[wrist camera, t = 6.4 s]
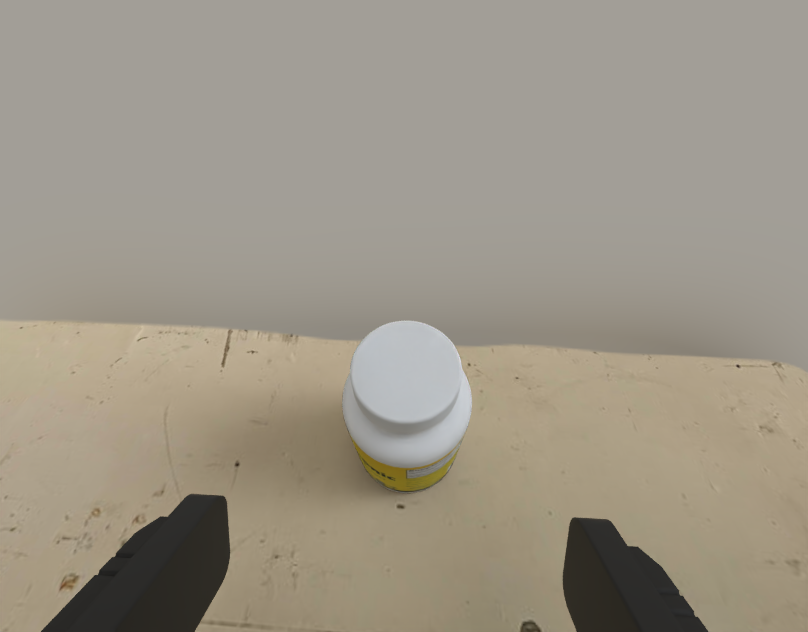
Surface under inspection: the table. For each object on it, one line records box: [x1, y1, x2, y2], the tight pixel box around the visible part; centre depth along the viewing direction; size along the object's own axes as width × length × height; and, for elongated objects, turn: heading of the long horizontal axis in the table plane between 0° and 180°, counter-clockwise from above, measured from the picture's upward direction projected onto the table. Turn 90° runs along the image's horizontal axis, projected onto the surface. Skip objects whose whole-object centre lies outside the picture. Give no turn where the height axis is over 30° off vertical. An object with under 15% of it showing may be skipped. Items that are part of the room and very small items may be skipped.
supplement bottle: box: [342, 321, 472, 493], centre depth 18 cm, size 5×5×10 cm
